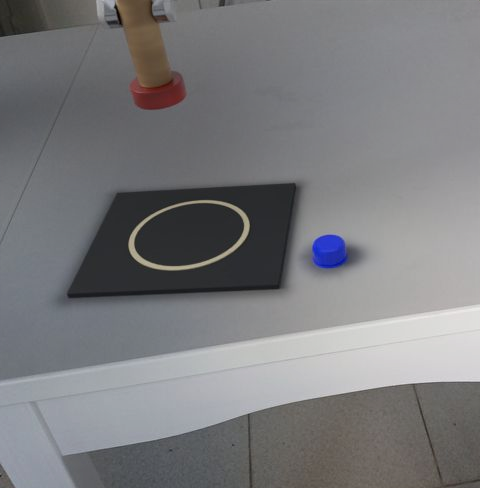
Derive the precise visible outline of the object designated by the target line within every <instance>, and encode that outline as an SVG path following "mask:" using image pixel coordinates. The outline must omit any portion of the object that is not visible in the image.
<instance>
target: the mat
mask: <svg viewBox="0 0 480 488" xmlns="http://www.w3.org/2000/svg"><path fill="white" fill-rule="evenodd" d="M296 185H297V184H296V182H288V183H287V182H286V183H268V184H267V183H266V184H251V185H249V184H248V185H233V186H215V187H199V188H180V189H179V188H177V189H165V190H164V189H160V190H145V191H143V190H142V191H125V192H117V193H116V194H115V196H114V198H113V200H112V201H111V203H110V206H109V208H108V210H107V212H106V214H105V216H104V218H103V220H102V222H101V224H100V226H99V228H98V230H97V232H96V234H95V236H94V238H93V240H92V241H91V244H90V246H89V248H88V250H87V252H86V254H85V257H84V258H83V260H82V262H81V264H80V266H79V268H78V270H77V272H76V274H75V276H74V278H73V280H72V283H71V284H70V286H69V289H68V290H67V292H66V296H67V298H68V299H79V298H101V297H102V298H103V297H122V296H125V297H126V296H127V297H128V296H148V295H151V296H152V295H169V294H170V295H172V294H195V293H215V292H217V293H219V292H239V291H240V292H243V291H265V290H267V291H268V290H279V289H280V288H281V282H282V275H283V271H284V263H285V256H286V250H287V244H288V239H289V232H290V226H291V220H292V213H293V207H294V200H295V195H296V188H297V186H296Z"/></svg>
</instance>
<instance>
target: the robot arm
mask: <svg viewBox="0 0 480 488" xmlns="http://www.w3.org/2000/svg"><path fill="white" fill-rule="evenodd" d="M151 1H152V3H153V5H152V13H153V16H154V18H155V19H156V22H157V23H159V24H165V23H166V24H167V23H176V22H177V21H178V20H177V9H176V2H177V1H178V0H151ZM95 2H96V12H97V13H96V14H97V19H98V22H99V24H100V26H101V27H102V28H103V29H104V30H112V29H119V28H123V27H122V23H121V20H120V16H119V13H118V9H117V6H116V2H115V0H95Z"/></svg>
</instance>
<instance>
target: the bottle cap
mask: <svg viewBox="0 0 480 488" xmlns="http://www.w3.org/2000/svg"><path fill="white" fill-rule="evenodd" d="M311 248H312V249H311V250H312V262H313V264H314V265H316V266H317V267H319V268H322V269H335V268H338V267H340V266H342V265H344V264H345V263H346V262H347V261H348V252H347V246H346V241H345V240H344V238H342V236H340V235H337V234H332V233H331V234H324V235H321V236H319V237H317V238H315V240H314V241H313V243H312V246H311Z"/></svg>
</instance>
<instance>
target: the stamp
mask: <svg viewBox="0 0 480 488" xmlns="http://www.w3.org/2000/svg"><path fill="white" fill-rule="evenodd" d="M115 2H116V6H117V9H118V13H119V16H120V20H121V23H122V27H121V28H122V30H123V34H124V37H125V40H126V44H127V47H128V50H129V54H130V57H131V61H132V64H133V65H132V66H133V67H134V72H135V75H136V77H135V78H133V80H131V82H130V83H129V91H130V93H131V96H132V97H131V98H132V101H133V104H134V105H135V106H136V107H137V108H139V109H141V110H147V111H157V110H163V109H167V108H170V107H173V106H175V105H178V104H180V103H182V102H183V101H184V100H185V99H186V97H187V94H188V93H187V89H186V85H185V79H184V76H183V75H182V73H180V72H178V71H176V70H172V68H171V64H170V60H169V57H168V53H167V49H166V45H165V41H164V37H163V32H162V29H161V25H160V23H157V22H156V19H155V18H154V16H153V13H152V5H153V3H152V1H151V0H115Z"/></svg>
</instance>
